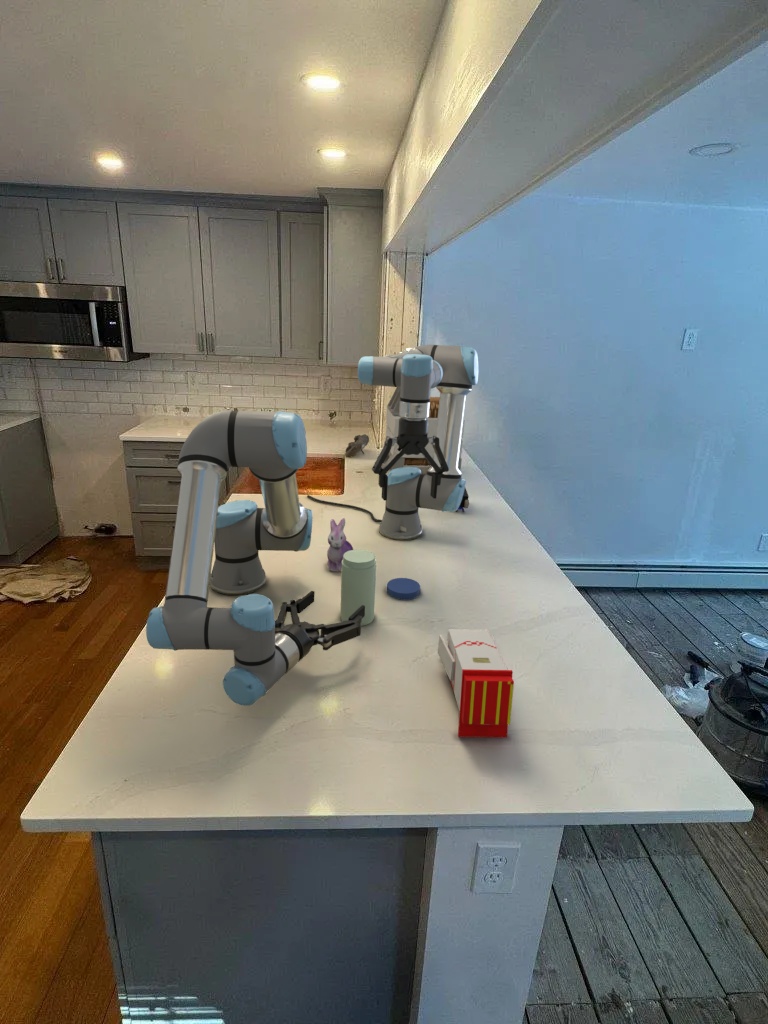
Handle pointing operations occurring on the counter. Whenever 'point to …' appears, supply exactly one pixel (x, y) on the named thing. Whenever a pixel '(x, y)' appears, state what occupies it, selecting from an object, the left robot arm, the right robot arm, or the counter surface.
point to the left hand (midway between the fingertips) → (337, 603)
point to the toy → (478, 682)
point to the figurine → (337, 545)
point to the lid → (403, 588)
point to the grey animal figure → (357, 445)
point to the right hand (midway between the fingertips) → (408, 498)
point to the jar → (358, 584)
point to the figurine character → (464, 501)
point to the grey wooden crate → (420, 460)
